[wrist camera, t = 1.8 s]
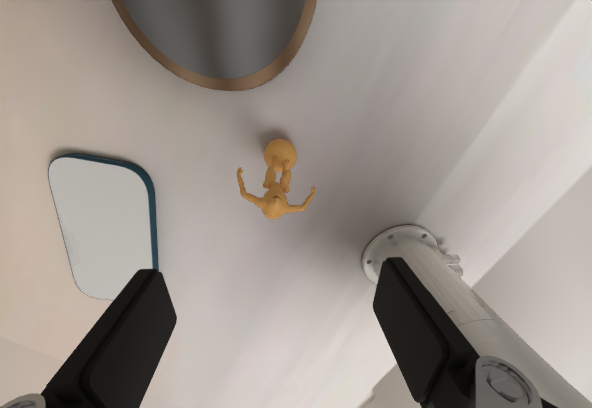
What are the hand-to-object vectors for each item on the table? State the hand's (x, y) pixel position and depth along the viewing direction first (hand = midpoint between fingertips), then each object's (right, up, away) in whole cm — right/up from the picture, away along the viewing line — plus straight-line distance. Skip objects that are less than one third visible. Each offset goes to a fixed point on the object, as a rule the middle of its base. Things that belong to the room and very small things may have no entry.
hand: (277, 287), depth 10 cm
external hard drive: (-26, -1, +23) cm, 35 cm away
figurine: (-2, +10, +20) cm, 22 cm away
